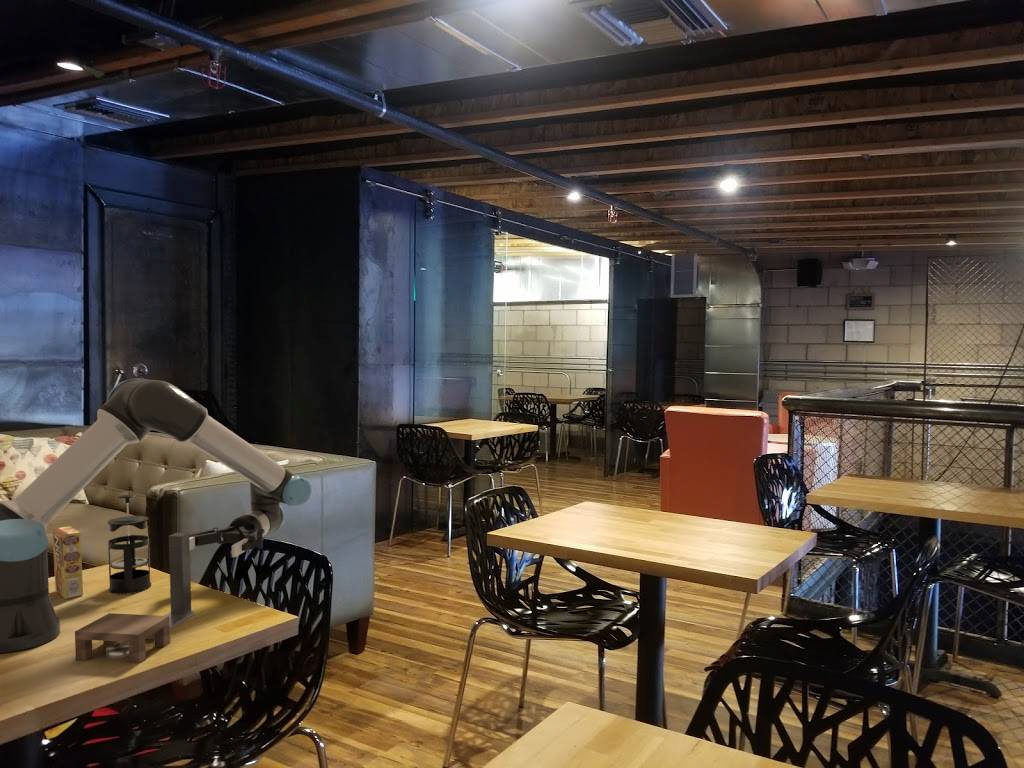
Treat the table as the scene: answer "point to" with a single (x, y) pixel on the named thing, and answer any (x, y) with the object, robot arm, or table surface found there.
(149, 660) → the table surface
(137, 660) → the stand
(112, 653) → the disc
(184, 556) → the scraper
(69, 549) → the candy box
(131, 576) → the french press
